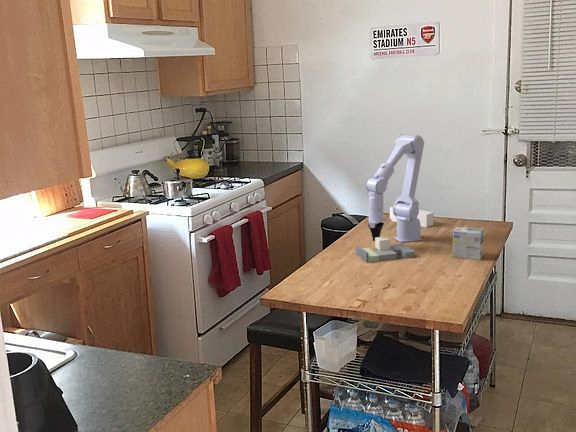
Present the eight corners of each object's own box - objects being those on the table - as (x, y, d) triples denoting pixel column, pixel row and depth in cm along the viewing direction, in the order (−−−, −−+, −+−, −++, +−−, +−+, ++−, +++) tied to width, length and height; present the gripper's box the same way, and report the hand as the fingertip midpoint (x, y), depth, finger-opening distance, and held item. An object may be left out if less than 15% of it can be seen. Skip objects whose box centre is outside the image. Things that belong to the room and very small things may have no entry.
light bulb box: (483, 255, 256) (484, 228, 253) (480, 260, 250) (481, 232, 247) (455, 252, 260) (456, 226, 258) (451, 257, 254) (452, 230, 252)
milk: (426, 214, 296) (385, 207, 311) (426, 227, 298) (385, 220, 312) (434, 212, 300) (393, 205, 315) (433, 225, 302) (393, 217, 317)
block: (385, 246, 264) (385, 236, 263) (390, 249, 260) (390, 239, 259) (375, 247, 263) (375, 237, 262) (379, 250, 259) (379, 240, 258)
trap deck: (402, 249, 267) (402, 240, 266) (414, 256, 256) (414, 247, 256) (356, 254, 262) (355, 245, 261) (366, 262, 252) (366, 253, 251)
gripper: (382, 212, 257) (382, 246, 260) (389, 204, 270) (389, 236, 273) (364, 211, 259) (364, 245, 263) (372, 203, 273) (372, 235, 276)
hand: (376, 240), depth 268 cm, fingers closed
